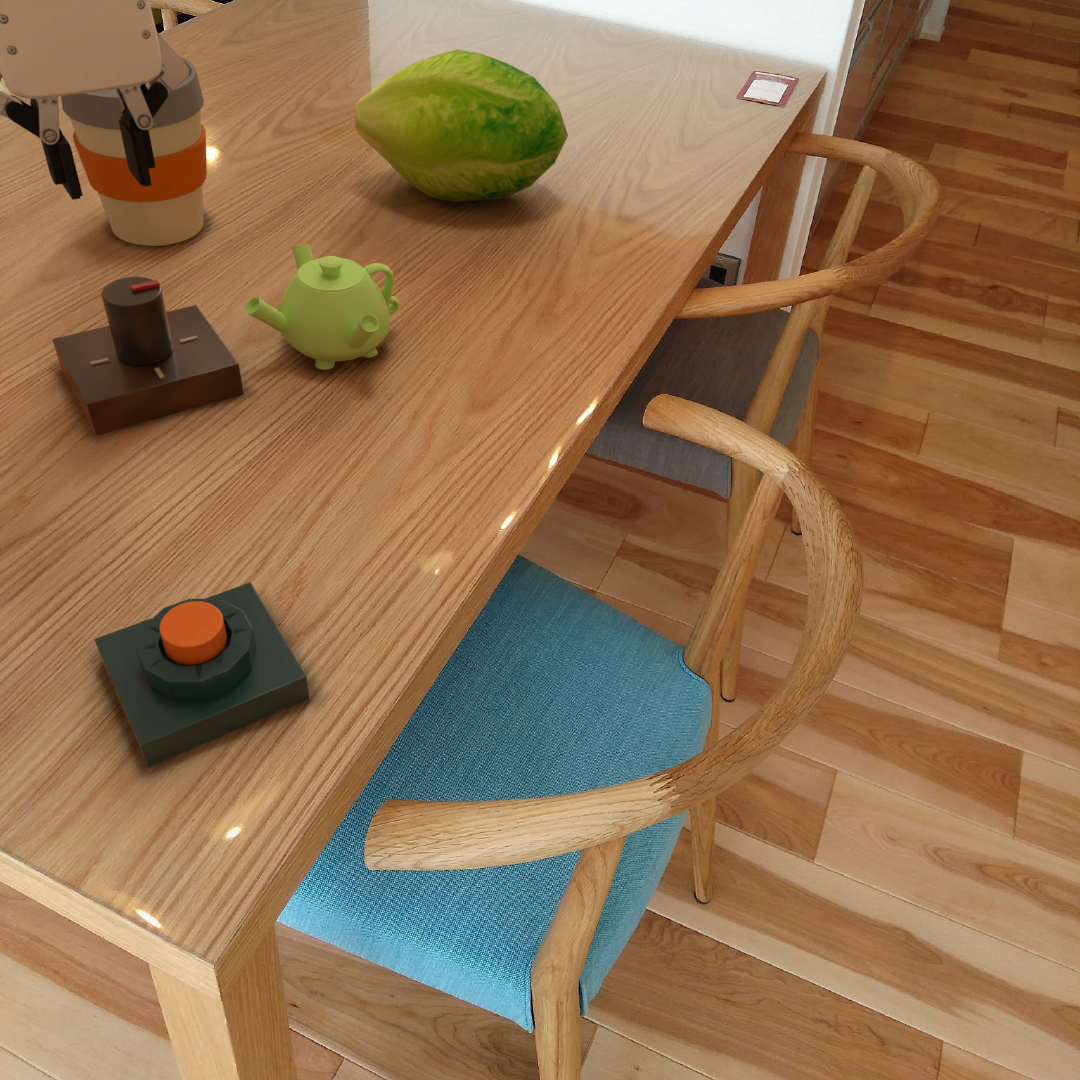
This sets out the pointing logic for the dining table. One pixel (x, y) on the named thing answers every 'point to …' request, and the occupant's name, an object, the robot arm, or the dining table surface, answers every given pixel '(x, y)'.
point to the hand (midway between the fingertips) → (106, 182)
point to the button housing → (202, 678)
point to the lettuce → (463, 126)
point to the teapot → (331, 308)
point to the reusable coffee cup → (175, 179)
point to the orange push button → (193, 633)
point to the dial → (137, 320)
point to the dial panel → (148, 373)
